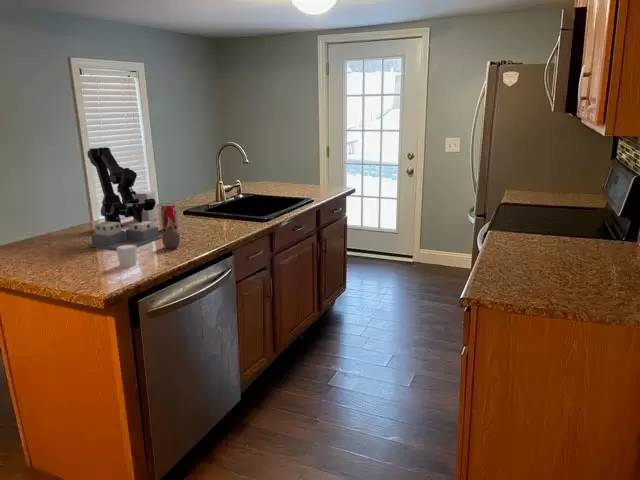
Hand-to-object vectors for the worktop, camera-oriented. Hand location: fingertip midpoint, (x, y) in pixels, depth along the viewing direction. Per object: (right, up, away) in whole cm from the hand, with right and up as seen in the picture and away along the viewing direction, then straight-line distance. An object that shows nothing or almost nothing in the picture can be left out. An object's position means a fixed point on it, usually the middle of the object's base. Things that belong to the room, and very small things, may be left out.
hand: (140, 222), depth 213 cm
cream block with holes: (0, -6, +1) cm, 6 cm away
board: (-5, -9, -2) cm, 10 cm away
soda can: (+7, -3, +20) cm, 21 cm away
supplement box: (-11, +2, +39) cm, 40 cm away
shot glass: (+8, -17, -33) cm, 38 cm away
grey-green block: (-11, -6, -6) cm, 14 cm away
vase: (+17, -11, -11) cm, 23 cm away
